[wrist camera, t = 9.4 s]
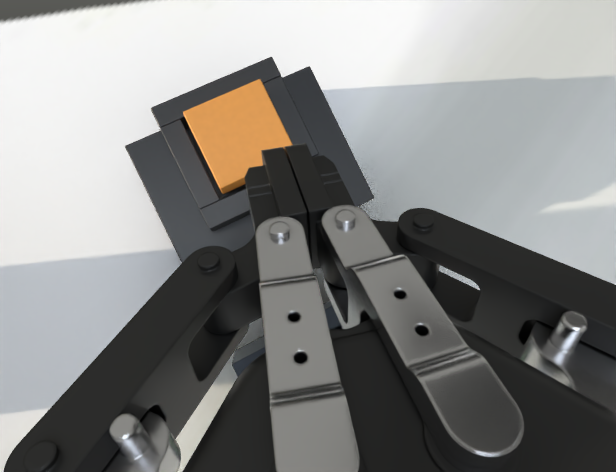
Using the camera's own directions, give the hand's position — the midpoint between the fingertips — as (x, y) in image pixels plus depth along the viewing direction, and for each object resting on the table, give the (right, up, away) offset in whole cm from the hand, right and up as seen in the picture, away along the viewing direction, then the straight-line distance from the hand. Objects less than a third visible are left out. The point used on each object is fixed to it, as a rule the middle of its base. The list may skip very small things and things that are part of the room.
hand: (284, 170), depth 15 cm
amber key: (-3, +3, +10) cm, 11 cm away
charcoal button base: (-3, +1, +16) cm, 16 cm away
